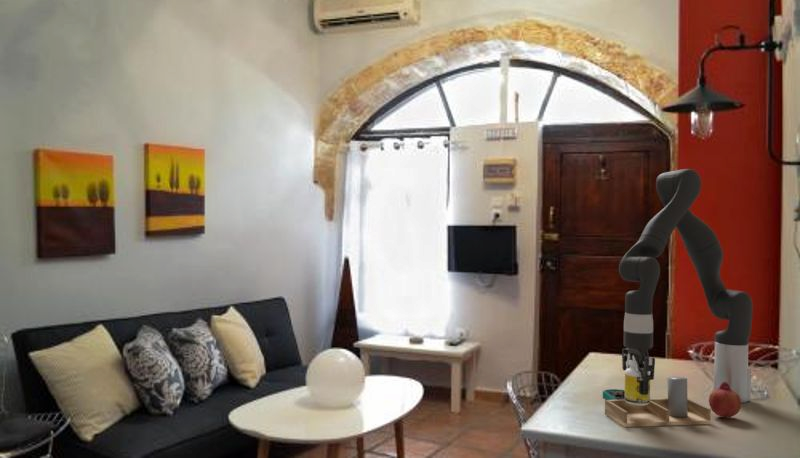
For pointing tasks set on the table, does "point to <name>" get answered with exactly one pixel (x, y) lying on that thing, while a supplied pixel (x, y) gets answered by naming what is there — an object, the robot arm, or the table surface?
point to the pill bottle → (634, 387)
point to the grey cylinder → (677, 397)
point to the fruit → (725, 401)
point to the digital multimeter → (614, 394)
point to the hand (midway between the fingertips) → (637, 391)
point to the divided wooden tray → (654, 413)
